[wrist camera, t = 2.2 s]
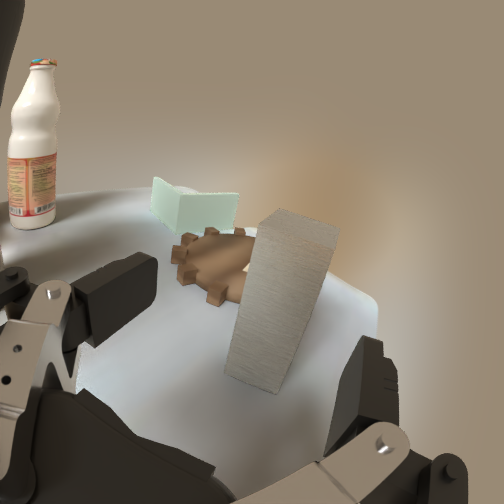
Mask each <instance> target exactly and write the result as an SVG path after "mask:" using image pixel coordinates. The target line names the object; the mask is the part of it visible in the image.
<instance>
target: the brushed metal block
mask: <svg viewBox="0 0 504 504" xmlns="http://www.w3.org/2000/svg"><path fill="white" fill-rule="evenodd" d="M339 232H340V228H338V227H334V226H332V225H329V224H326V223H323V222H320V221H317V220H314V219H311V218H308V217H305V216H302V215H299V214H295V213H292V212H289V211H286V210H283V209H280V208H279V209H278V210H277V211H275V212H274V213H273V214H271V215H270V216H269V217H267V218H266V219H264V220H263V221H262V222H260V223H259V225H258V230H257V234H256V238H255V242H254V247H253V251H252V255H251V259H250V264H249V268H248V272H247V276H246V281H245V285H244V289H243V293H242V298H241V302H240V306H239V310H238V315H237V319H236V323H235V327H234V332H233V336H232V340H231V344H230V348H229V353H228V357H227V361H226V365H225V370H224V373H225V374H227V375H229V376H231V377H234V378H236V379H238V380H241V381H243V382H245V383H248V384H250V385H253V386H255V387H258V388H260V389H263V390H265V391H268V392H270V393H273V394H276V395H277V392H278V390H279V388H280V386H281V384H282V382H283V379H284V377H285V375H286V373H287V370H288V368H289V366H290V364H291V361H292V359H293V357H294V354H295V352H296V350H297V347H298V345H299V342H300V340H301V338H302V335H303V333H304V330H305V328H306V325H307V323H308V320H309V318H310V315H311V313H312V310H313V308H314V305H315V303H316V300H317V297H318V295H319V292H320V290H321V287H322V284H323V281H324V279H325V276H326V273H327V271H328V268H329V265H330V262H331V259H332V256H333V254H334V251H335V247H336V243H337V239H338V235H339Z"/></svg>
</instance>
